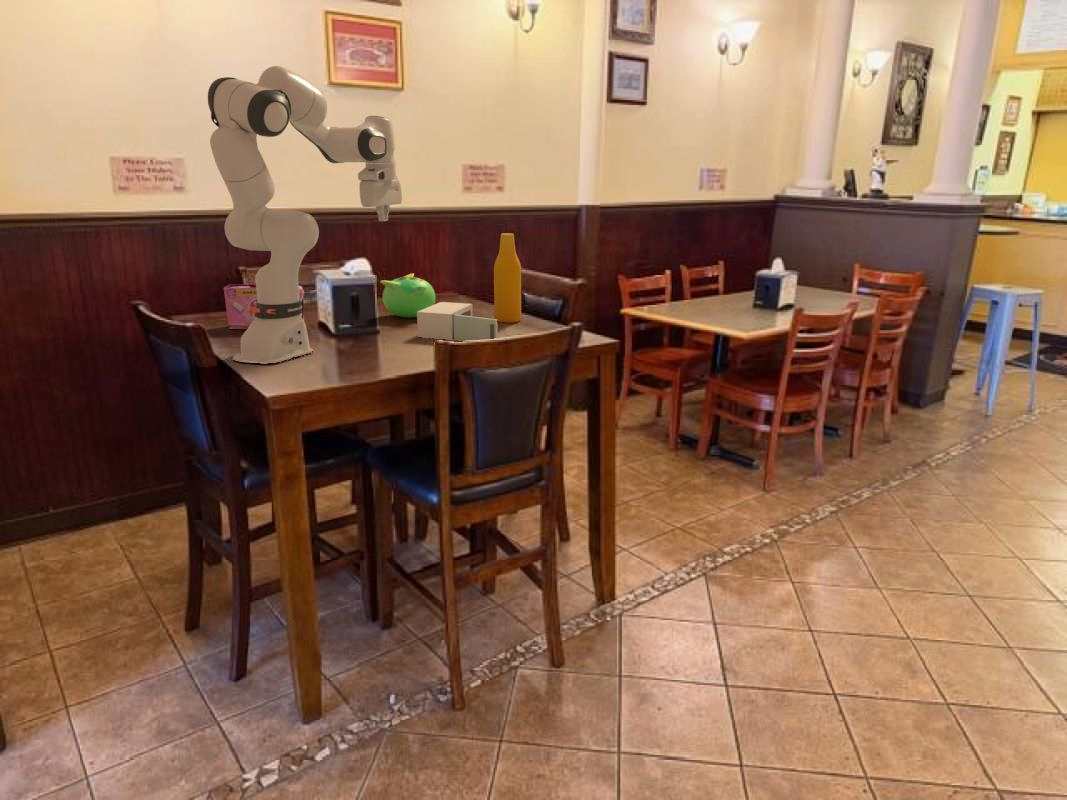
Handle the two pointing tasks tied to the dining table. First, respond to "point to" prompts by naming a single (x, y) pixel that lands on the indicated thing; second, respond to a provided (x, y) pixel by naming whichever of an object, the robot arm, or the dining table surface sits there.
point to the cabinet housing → (440, 319)
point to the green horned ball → (407, 295)
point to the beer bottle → (507, 282)
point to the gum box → (246, 303)
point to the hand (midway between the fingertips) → (383, 220)
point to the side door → (473, 328)
